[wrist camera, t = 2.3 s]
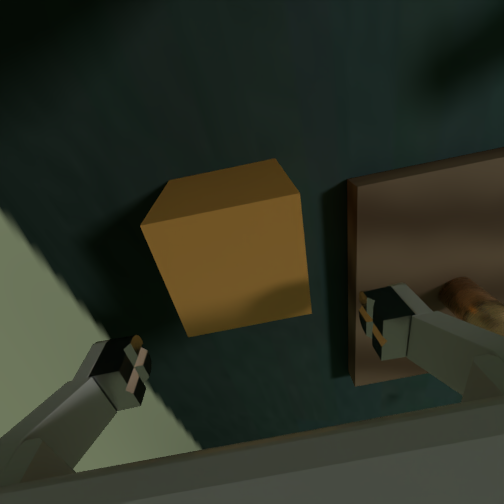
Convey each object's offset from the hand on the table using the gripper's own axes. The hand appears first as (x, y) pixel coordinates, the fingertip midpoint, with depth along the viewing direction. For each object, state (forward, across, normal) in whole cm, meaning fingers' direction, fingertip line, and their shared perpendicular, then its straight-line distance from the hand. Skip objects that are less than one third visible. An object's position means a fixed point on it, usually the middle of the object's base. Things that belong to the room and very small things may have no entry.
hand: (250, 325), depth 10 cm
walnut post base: (+8, -14, +7) cm, 18 cm away
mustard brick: (+8, 0, -1) cm, 8 cm away
